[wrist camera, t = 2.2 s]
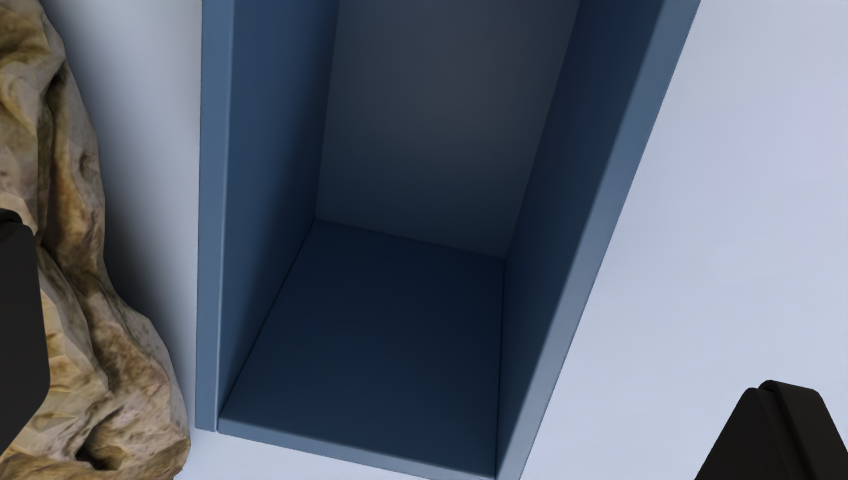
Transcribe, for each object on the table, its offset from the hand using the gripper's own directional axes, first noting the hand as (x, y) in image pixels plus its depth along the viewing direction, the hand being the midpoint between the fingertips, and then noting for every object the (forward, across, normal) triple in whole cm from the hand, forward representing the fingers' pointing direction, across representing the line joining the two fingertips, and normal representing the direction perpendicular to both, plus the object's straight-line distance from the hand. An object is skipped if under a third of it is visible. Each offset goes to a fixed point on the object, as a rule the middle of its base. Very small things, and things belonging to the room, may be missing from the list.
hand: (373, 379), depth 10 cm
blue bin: (+12, 0, 0) cm, 13 cm away
